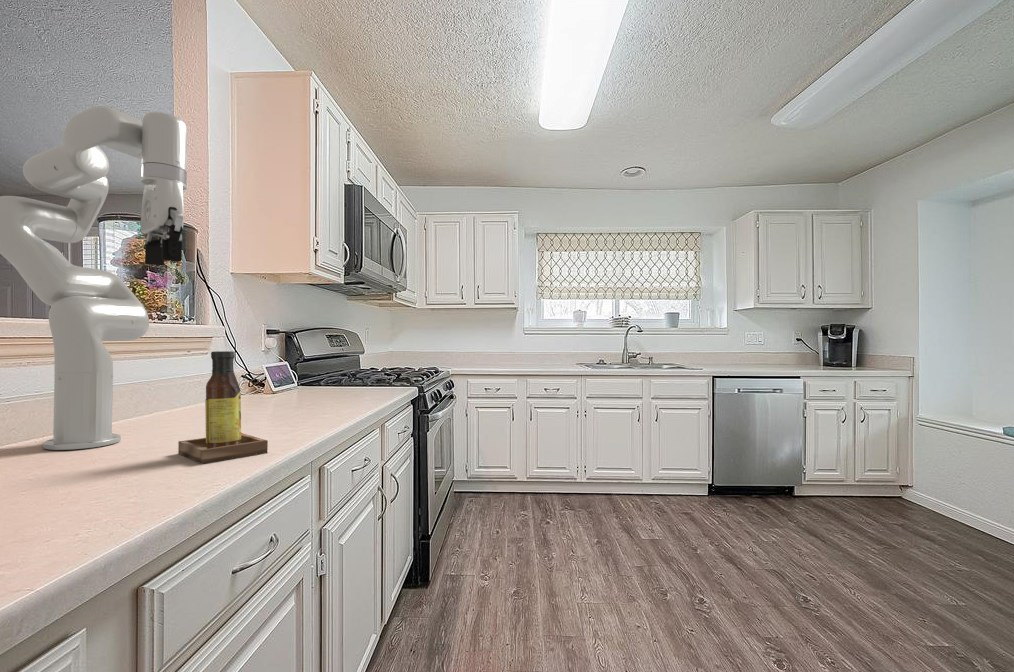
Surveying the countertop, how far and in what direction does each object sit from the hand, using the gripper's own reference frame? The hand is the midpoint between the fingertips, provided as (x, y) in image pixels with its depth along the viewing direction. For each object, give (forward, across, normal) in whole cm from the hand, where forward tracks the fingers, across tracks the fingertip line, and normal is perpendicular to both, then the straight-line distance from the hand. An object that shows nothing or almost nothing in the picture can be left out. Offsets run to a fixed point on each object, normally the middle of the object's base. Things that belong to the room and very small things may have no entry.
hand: (162, 262), depth 100 cm
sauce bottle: (+38, +10, +8) cm, 40 cm away
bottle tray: (+38, +10, +8) cm, 40 cm away
